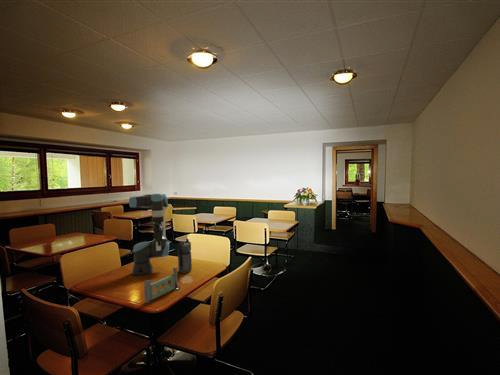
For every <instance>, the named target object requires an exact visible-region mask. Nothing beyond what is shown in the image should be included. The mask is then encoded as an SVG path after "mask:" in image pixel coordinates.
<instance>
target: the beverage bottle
mask: <svg viewBox="0 0 500 375" xmlns="http://www.w3.org/2000/svg"><path fill="white" fill-rule="evenodd" d="M189 240H190V239H189V238H186V241H180V242H179V243H178V244H177V252H178V253H177V262H178V263H177V266H178V267H177V272H179V273H182V274H188V273H189V272H191V271H192V266H193V265H192V251H191V250H192V242H191V241H189Z"/></svg>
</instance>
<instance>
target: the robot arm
mask: <svg viewBox="0 0 500 375" xmlns="http://www.w3.org/2000/svg"><path fill="white" fill-rule="evenodd" d="M168 201H169V200H168V196H167V194H165V193H152V194H143V195H139V196H130V197H129V199H128V205H129V208H143V209H144V208H145V209H151V212H150V214H151V223H153V224H152V230H153V231H152V232H153V240H152V243H151V242H150V241H141V242H138V243H136V244H134V246H133V266H132V270H131V275H132V276H135V277H140V276H146V275H149V274H151V273H153V271H154V270H153V269H154V268H153V266H152V263H151V259H157V258H164V257H168V256H169V251H170V241H169V240H168V239H167V236H166V210H167V208H168V207H169V202H168Z"/></svg>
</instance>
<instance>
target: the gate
mask: <svg viewBox="0 0 500 375" xmlns="http://www.w3.org/2000/svg"><path fill="white" fill-rule="evenodd" d="M169 281H170V285H169ZM162 284H163V285H164V286H163V287H164V288H163V289H162ZM150 287H151V301H152V300H154V299H156V298H158V297H160V296H162V295H164V294H167V293H168V292H170V291H172V290H173V289H175V275H173V274H170V275H169V276H166V277H162V278H161V279H159V280H157V281H154V282H150ZM154 288H156V290H157V291H156V292H155V290H154Z"/></svg>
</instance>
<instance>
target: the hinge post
mask: <svg viewBox="0 0 500 375" xmlns="http://www.w3.org/2000/svg"><path fill="white" fill-rule="evenodd" d="M172 272H173V274H172V275H175V289H173V290H171V291H172V292H173V291H175V292H177V291H178V290H180V289H181V286H180V285H179V286H178V267H177V266H174V267H173V268H172Z"/></svg>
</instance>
